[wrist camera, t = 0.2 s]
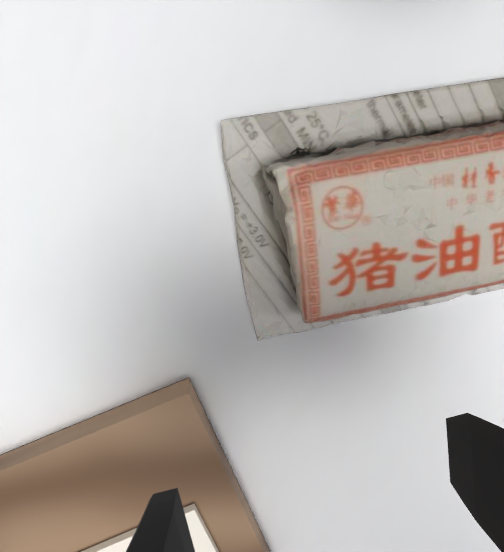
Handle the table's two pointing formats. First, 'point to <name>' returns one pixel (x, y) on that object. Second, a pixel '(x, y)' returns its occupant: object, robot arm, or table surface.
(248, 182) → the packaged product
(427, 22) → the table surface
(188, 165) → the table surface
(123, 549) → the stub
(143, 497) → the board
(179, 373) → the table surface
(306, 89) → the table surface
